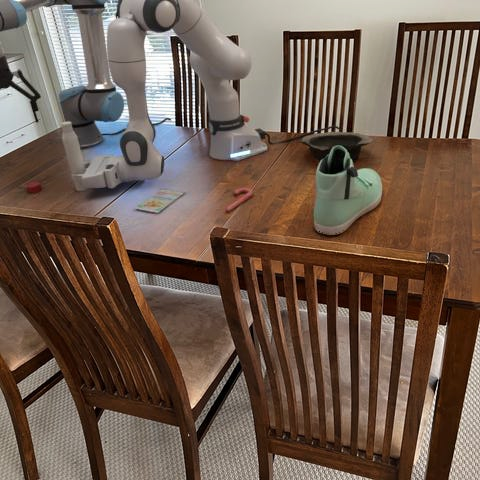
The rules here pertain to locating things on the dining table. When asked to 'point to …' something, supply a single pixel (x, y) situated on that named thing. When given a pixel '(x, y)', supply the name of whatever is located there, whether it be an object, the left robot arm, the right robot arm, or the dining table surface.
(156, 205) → the baking ingredient package
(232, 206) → the candy cane
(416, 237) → the dining table surface
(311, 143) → the stone bowl
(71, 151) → the bottle
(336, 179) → the sneaker
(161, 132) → the dining table surface
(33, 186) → the cap
